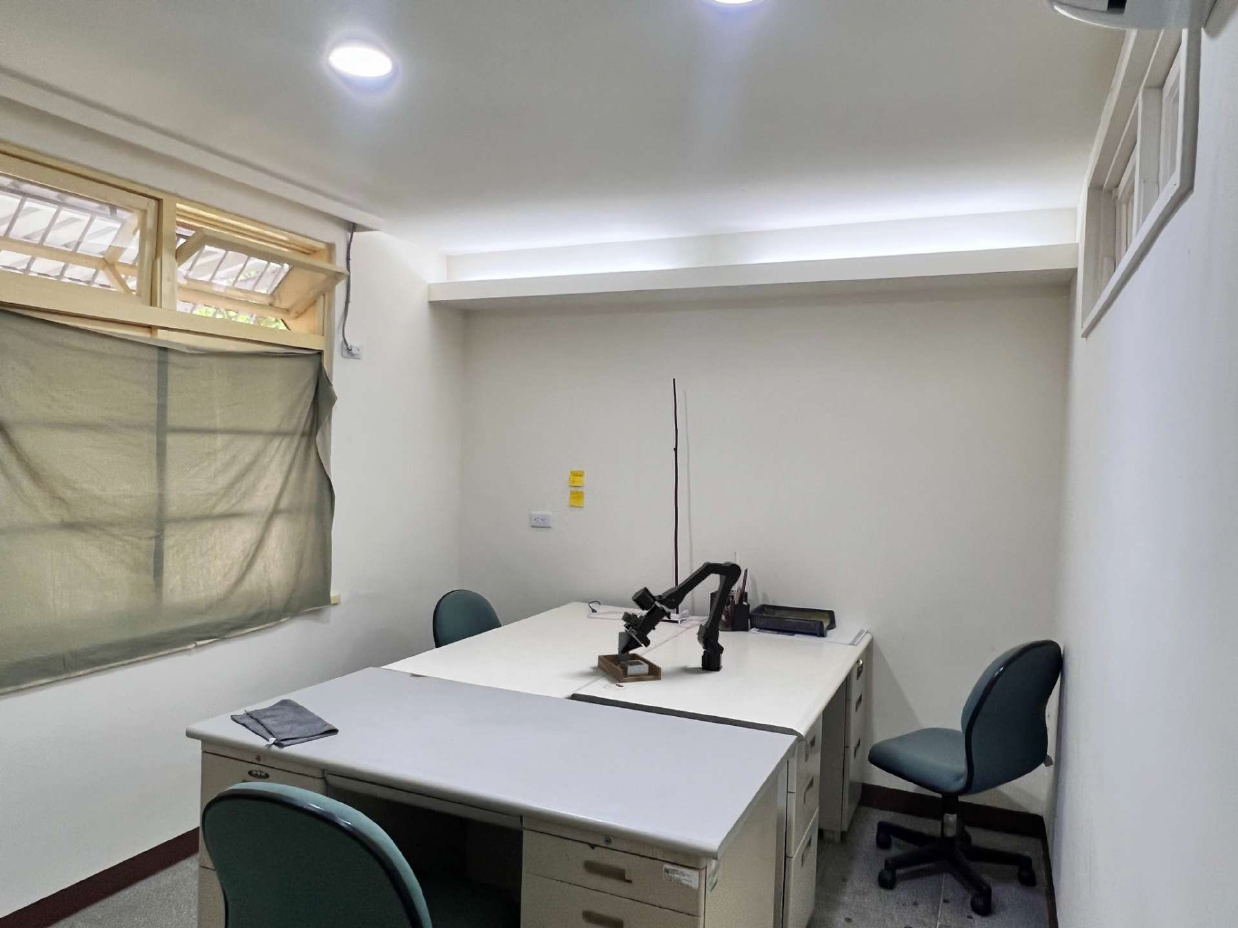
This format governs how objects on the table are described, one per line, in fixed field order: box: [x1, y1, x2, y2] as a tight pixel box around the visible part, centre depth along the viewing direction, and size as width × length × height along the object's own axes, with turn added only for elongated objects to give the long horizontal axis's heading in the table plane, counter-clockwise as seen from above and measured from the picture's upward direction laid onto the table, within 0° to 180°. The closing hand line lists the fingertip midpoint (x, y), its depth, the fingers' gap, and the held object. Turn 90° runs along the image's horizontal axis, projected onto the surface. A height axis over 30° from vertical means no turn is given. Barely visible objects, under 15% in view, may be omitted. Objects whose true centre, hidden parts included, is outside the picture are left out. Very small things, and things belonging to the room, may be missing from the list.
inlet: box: [620, 660, 648, 678], centre depth 283 cm, size 8×8×4 cm
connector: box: [617, 631, 630, 668], centre depth 292 cm, size 4×4×13 cm
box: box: [597, 652, 662, 684], centre depth 287 cm, size 15×23×4 cm, turn 21°
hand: (619, 651), depth 292 cm, fingers closed on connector, 4 cm apart
